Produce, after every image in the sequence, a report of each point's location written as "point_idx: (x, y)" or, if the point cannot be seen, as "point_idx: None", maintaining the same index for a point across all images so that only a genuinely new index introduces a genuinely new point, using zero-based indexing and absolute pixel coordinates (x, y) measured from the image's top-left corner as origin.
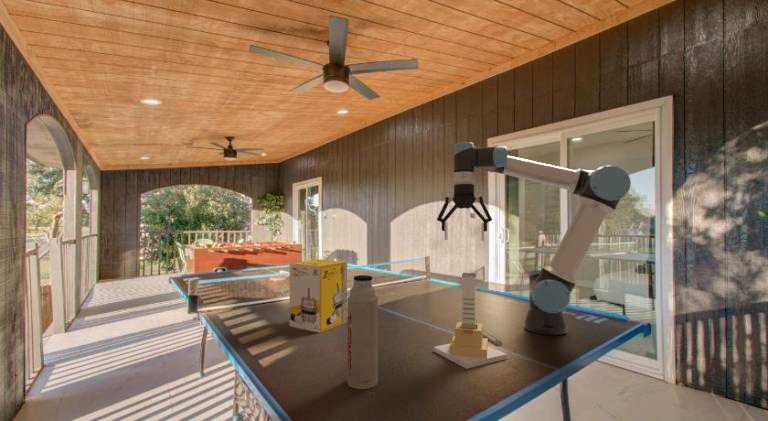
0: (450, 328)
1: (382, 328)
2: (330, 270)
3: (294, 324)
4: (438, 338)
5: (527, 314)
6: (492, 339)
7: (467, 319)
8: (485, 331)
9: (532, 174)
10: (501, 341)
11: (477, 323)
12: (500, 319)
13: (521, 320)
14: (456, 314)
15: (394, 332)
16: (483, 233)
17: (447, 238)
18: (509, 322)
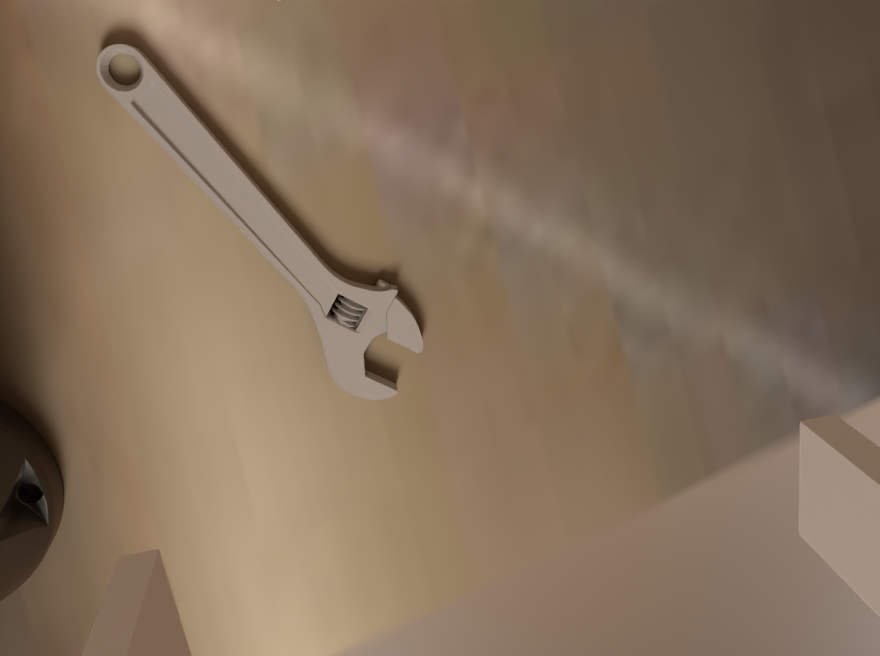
0: (479, 253)
1: (875, 62)
2: None
3: None
4: (498, 14)
5: (18, 530)
6: (164, 86)
7: None
8: (246, 232)
9: None
10: (103, 77)
11: (335, 375)
12: (240, 572)
13: None
14: (516, 553)
15: (785, 14)
16: (87, 653)
17: (810, 543)
18: (173, 536)
